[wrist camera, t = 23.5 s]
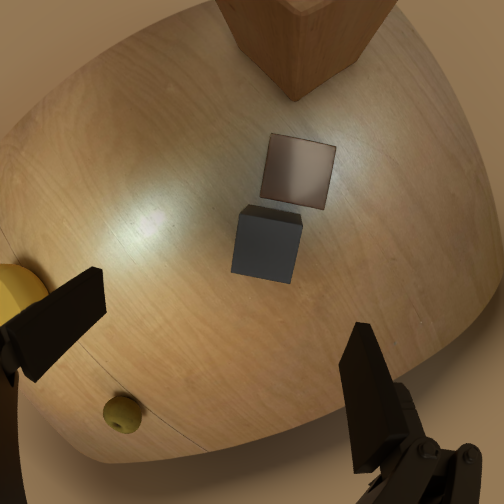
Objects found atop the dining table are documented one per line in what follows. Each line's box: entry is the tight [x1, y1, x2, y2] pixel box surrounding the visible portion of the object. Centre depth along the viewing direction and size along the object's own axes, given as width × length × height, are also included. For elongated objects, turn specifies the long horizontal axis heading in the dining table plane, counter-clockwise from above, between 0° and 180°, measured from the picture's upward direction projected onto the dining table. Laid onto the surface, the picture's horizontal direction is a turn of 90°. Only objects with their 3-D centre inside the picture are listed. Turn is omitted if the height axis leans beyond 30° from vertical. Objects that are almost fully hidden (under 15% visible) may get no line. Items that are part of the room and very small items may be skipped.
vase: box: [0, 264, 49, 326], centre depth 33 cm, size 18×18×19 cm
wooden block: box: [215, 0, 398, 101], centre depth 16 cm, size 10×10×20 cm
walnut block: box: [260, 133, 336, 210], centre depth 27 cm, size 6×6×6 cm
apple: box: [103, 396, 142, 434], centre depth 43 cm, size 8×8×7 cm
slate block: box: [231, 205, 303, 284], centre depth 29 cm, size 6×6×6 cm
